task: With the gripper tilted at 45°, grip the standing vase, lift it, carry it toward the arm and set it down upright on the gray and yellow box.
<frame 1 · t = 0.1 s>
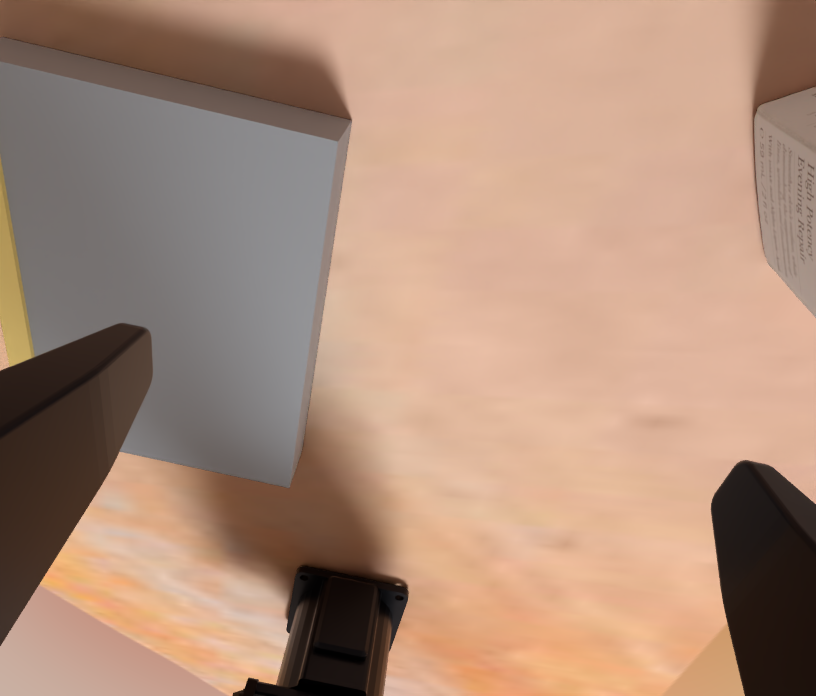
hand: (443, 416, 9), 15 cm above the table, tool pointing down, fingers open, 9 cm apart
gray and yellow box: (179, 281, 26), on the table
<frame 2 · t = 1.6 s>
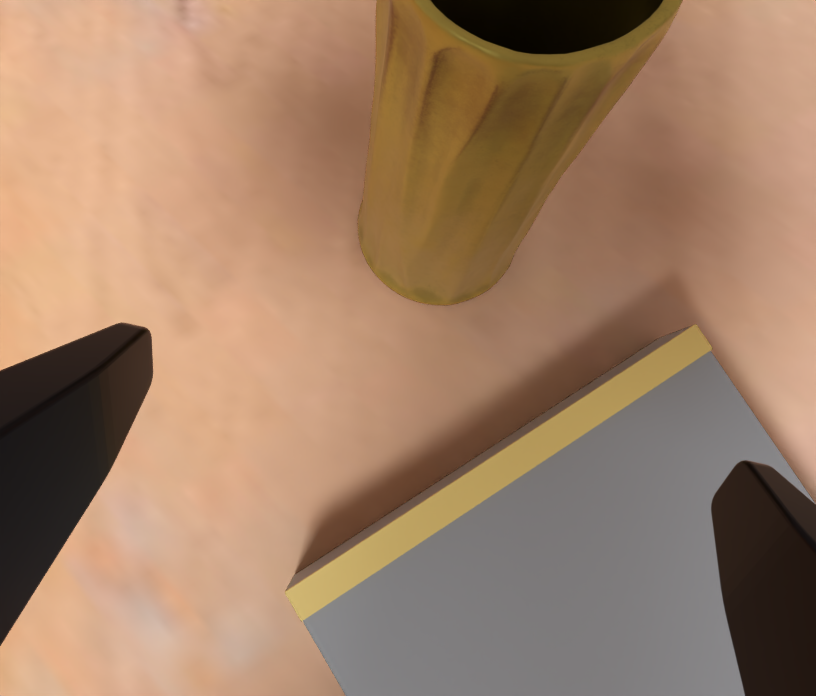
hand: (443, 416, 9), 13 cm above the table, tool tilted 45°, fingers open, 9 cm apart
vase: (437, 231, 24), on the table
gray and yellow box: (577, 596, 22), on the table
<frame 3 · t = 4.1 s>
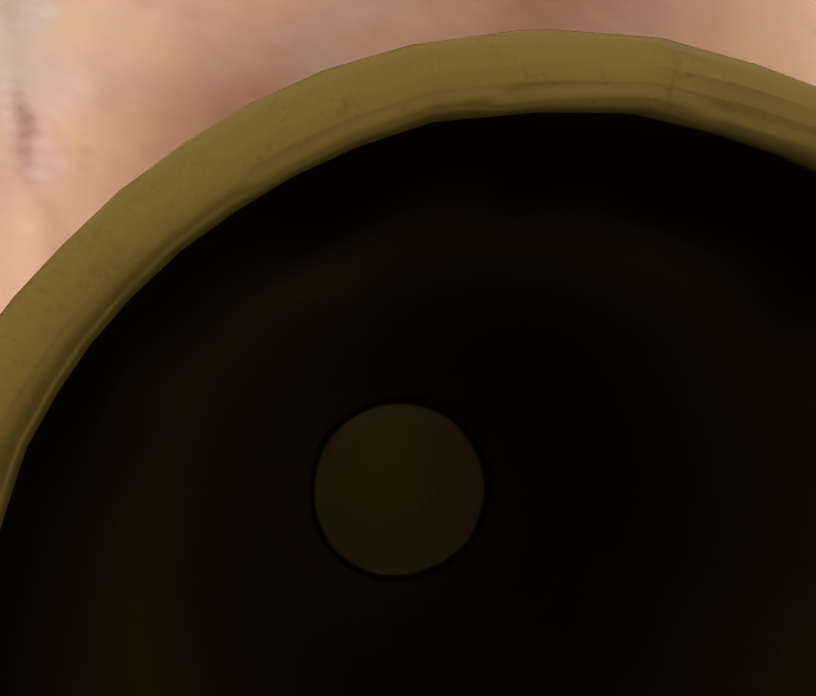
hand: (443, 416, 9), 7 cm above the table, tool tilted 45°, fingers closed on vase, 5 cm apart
vase: (396, 484, 16), on the table, touching gripper
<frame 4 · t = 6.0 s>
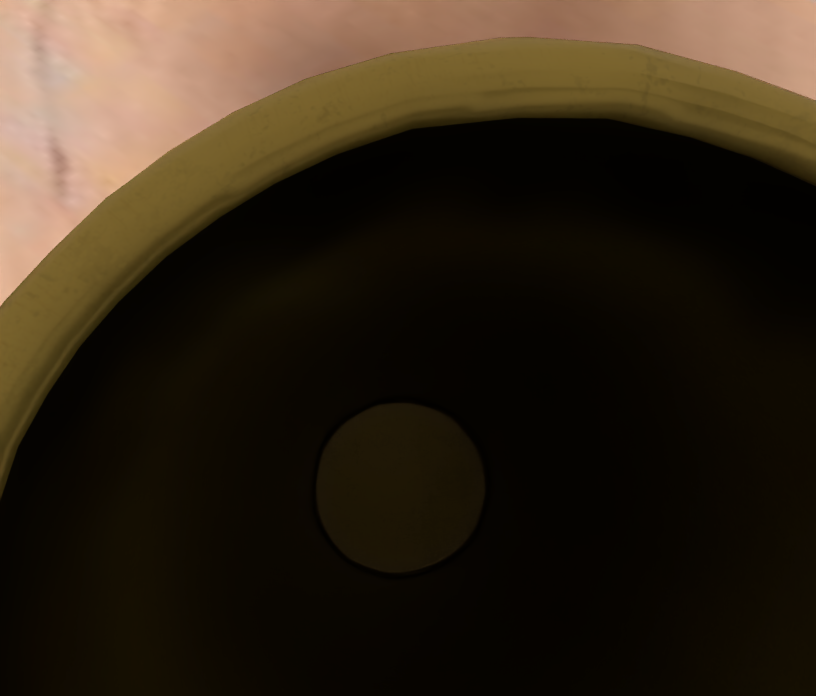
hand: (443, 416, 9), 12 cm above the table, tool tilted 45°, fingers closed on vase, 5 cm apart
vase: (398, 482, 16), point 5 cm above the table, touching gripper
when the fingers open (10 cm above the table, at t = 7.8 s): vase stays where it is, resting on gray and yellow box.
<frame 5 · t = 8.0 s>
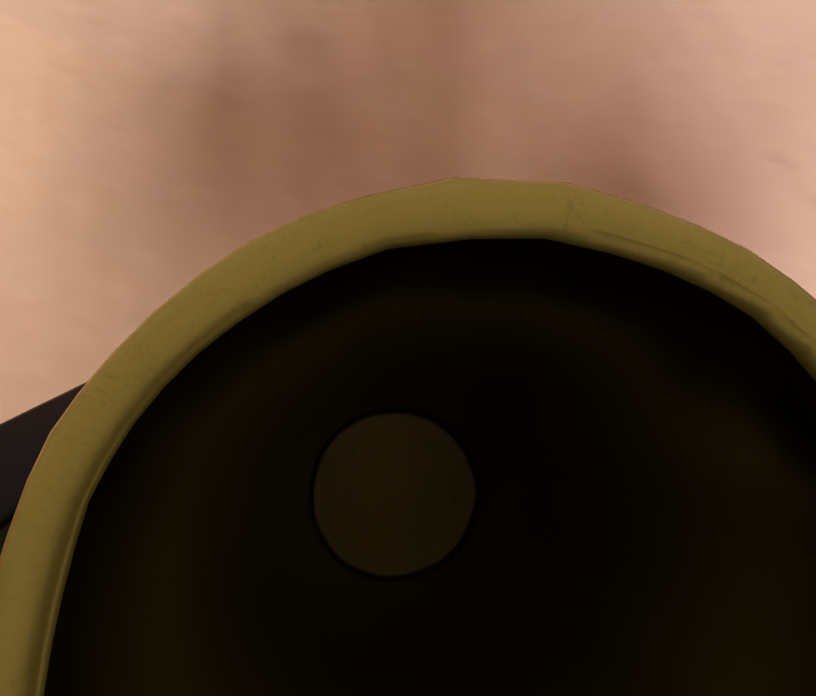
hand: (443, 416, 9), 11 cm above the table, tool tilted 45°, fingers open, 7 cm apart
vase: (392, 489, 17), point 2 cm above the table, touching gray and yellow box
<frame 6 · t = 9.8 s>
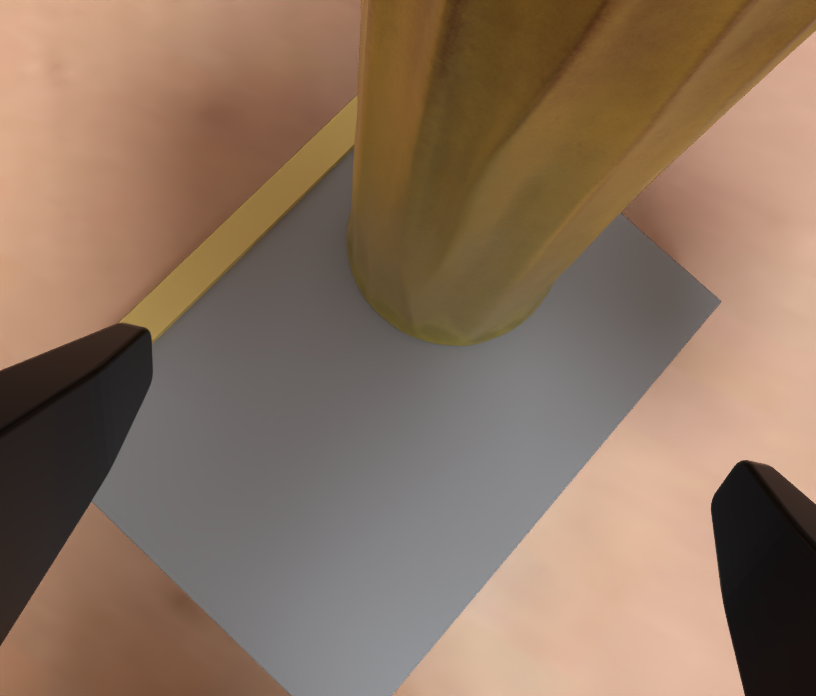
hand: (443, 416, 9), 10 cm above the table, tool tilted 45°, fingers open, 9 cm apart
vase: (451, 245, 18), point 2 cm above the table, touching gray and yellow box
gray and yellow box: (384, 371, 20), on the table
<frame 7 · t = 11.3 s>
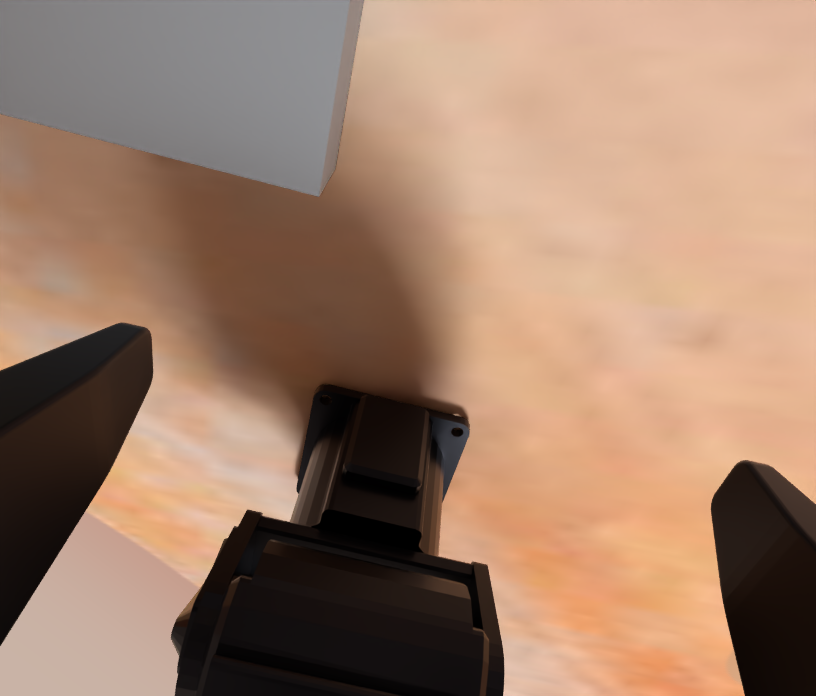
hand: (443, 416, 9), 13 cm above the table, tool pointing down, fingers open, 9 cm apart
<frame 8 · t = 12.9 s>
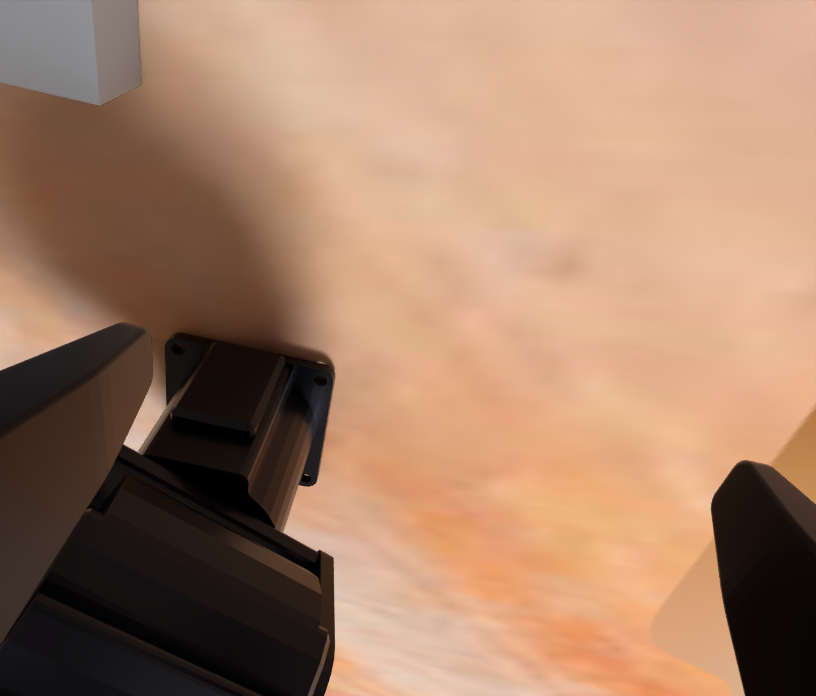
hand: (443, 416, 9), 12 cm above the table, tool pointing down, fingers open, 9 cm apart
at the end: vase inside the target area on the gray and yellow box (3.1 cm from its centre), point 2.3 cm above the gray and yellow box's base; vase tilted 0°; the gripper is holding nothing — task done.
